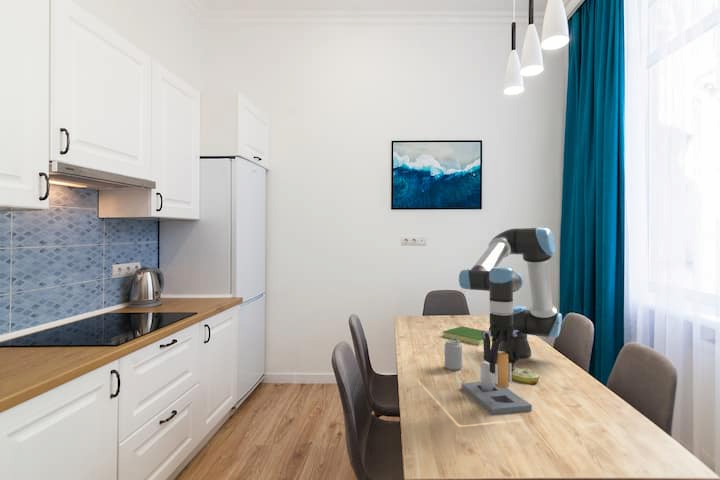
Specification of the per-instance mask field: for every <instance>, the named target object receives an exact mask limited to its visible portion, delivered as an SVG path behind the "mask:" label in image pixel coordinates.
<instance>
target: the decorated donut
mask: <svg viewBox="0 0 720 480" xmlns="http://www.w3.org/2000/svg"><path fill="white" fill-rule="evenodd" d="M539 379H540V374H539V373H538V372H536V371H534V370H532V369H528V368H524V367H522V368H515V369H514V371H513V372H512V380H514V381H516V382H519V383H522V384H528V385H534V384H537V383H538V382H539Z"/></svg>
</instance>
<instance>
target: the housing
mask: <svg viewBox="0 0 720 480" xmlns="http://www.w3.org/2000/svg"><path fill="white" fill-rule="evenodd" d="M461 389H462V390H463V391H465V393H467V394H468V395H469V396H470V397H471V398H472V399H473V400H475V401H476V402H477V403H478V404H479V405H481V407H482V408H484V410H486V411H487V412H489V413H490V414H491V415H492V416H495V415H503V414H514V413H522V412H523V413H524V412H532V409H533V408H532V407H533V406H532V404H531V403H529V402H528V401H527V400H525V399H524V398H523V397H521V396H519V395H517V393H515V392H513V391H512V390H510V389H509V388H499V387H497V386H495V383H494V382H493V391H487V392H483V391H482V390H481V381H475V382H462V383H461Z"/></svg>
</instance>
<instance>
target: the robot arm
mask: <svg viewBox="0 0 720 480" xmlns="http://www.w3.org/2000/svg"><path fill="white" fill-rule="evenodd" d="M555 240H556V239H555V236H554V234H553V231H552V230H550V229H549V228H547V227H545V228H544V227H531V228H529V227H526V228H510V229H509V228H508V229H506V230H504V231H502V232H499V233H498V234H497V235H495V236H494V237H493V238H492V239H491V240H490V241H489V243H488V248H486V251H484V253H483V254H482V255H481V256H480V258H479V259H478V260H476V261H477V262H476V263H474V265H473V266H472V268H471V269H469V268H468V269H462V270H461V271H459V276H458V282H459V283H458V284H459V286H460V288H462V289H465V290H469V291H470V290H471V291H472V290H473V291H487V292H489V312H490V313H489V328H488V330H487V332H482V336H483V361H487V362H488V363H489V365H490V372H491V373H492V382H494V383H495V384H498V364H496V358H497V353H498V351H503V352H507V353H508V354H509V383H510V384H511V383H513V382H512V381H513V379H512V372H513V371H514V368H515V367H514V365H515V364H516V361H520V359H526V358H530V357H532V350H531V346H530V343H529V340H528V335H531V336H537V337H543V338H552V339H556V338H559V335H560V332H561V327H562V321H563V315H562V313H560V312H558V309H557V307H556V306H555V305H554V304H553V296H552V295H553V294H552V293H553V292H552V285H551V284H552V283H551V273H550V264H549V261H550V260H552V256H553V255H555V253H556V241H555ZM510 255H522V259H523V260H524V262H526V263H527V271H528V278H529V279H528V281H529V290H530V297H531V307H530V308H529V309H528V308H527V306H526V305H514V293H516V292H517V291H519V290H520V289H521V288H522V287H523V285H524V279H523V276H522V274H521V273H520V272H517V271H514V270H513V269H512V268H511V267H500V266H499V265H500V264H501V262H502V261H503V259H505V258H507V257H508V256H510ZM490 335H492V342H490V337H491V336H490Z"/></svg>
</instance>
